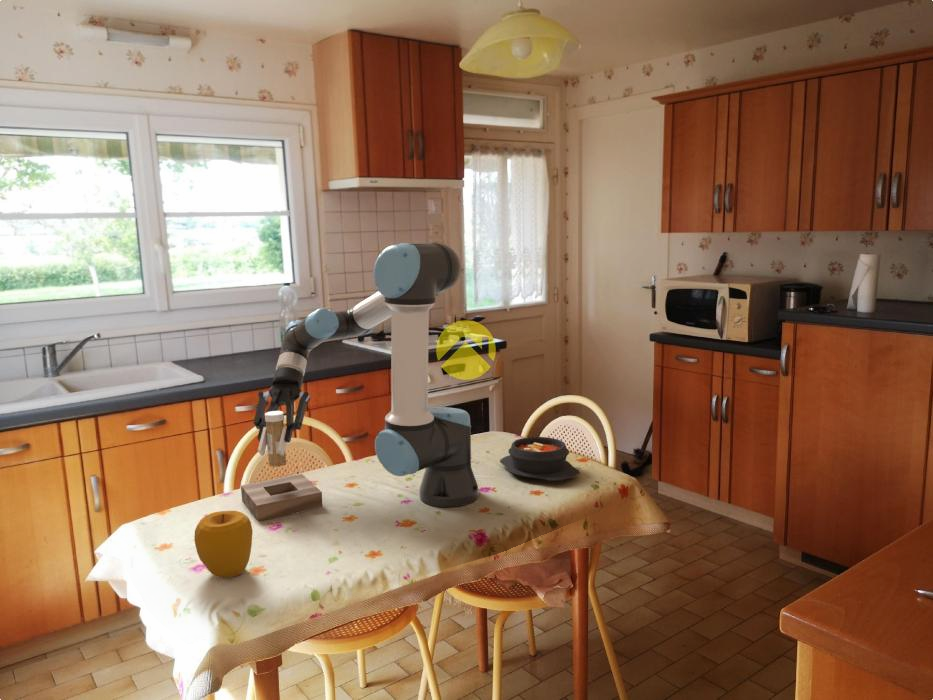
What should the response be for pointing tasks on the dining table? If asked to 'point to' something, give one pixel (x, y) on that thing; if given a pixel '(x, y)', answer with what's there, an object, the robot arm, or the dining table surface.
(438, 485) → the robot arm
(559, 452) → the casserole
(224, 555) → the apple
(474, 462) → the dining table surface
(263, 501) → the frame
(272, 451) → the sprinkles bottle
